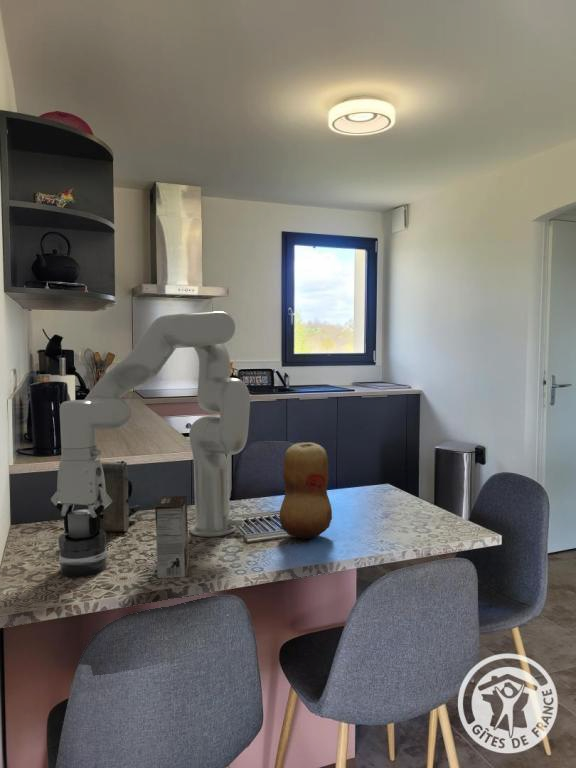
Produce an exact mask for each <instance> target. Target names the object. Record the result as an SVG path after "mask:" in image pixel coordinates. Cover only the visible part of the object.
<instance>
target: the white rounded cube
mask: <svg viewBox="0 0 576 768" xmlns="http://www.w3.org/2000/svg"><path fill="white" fill-rule="evenodd" d="M90 517H91V514H90V511H89V508H84V509H83V508H82V509H76V510H73V511H72V512H69V513H68V533H69V537H70V538H86V537H90V536H93V535H90V529H89V518H90ZM94 535H95V534H94Z"/></svg>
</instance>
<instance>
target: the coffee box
mask: <svg viewBox="0 0 576 768" xmlns="http://www.w3.org/2000/svg"><path fill="white" fill-rule="evenodd" d="M187 498H188V496H187V495H165V496H159V497H158V500H157V502H156V504H155V534H156V535H155V536H156V538H155V539H156V568H157V569H156V570H157V571H156V572H157V579H168V578H169V579H170V578H185V577H187V572H188V569H189V564H190V556H189V555H190V553H189V527H188V503H187V502H188V501H187V500H188V499H187Z"/></svg>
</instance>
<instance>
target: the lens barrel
mask: <svg viewBox="0 0 576 768" xmlns="http://www.w3.org/2000/svg"><path fill="white" fill-rule="evenodd" d="M106 537H107V535H106V532H105V531H104V530H102V529H100V531H99V532H97V533H96V534H95V535H93V536H90V537H86V538H70V537H69V533H65V532H64V533H62V534H60V535H59V537H58V548H59V554H58V558H59V563H60V564H59V565H60V567H59V568H60V574H61V576H64V577H67V578H83V577H84V578H85V577H90V576H94V575H97V574H100V573H102V572H104V570H106V569H107V556H108V554H107V553H108V550H107V543H106V541H107V539H106Z"/></svg>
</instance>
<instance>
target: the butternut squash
mask: <svg viewBox="0 0 576 768" xmlns="http://www.w3.org/2000/svg"><path fill="white" fill-rule="evenodd" d="M328 457H329V456H328V454H327V451H326V449H325V448H324V447H323V446H321V445H320V444H317V443H315V442H311V441H310V442H296V443H294V444H292V445H291V446H289V447H288V448H287V449H286V451H285V454H284V458H283V459H284V462H283V473H282V474H283V482H284V497H283V500H282V503H281V505H280V510H279V524H280V526H281V528H282V530H284V532H286V534H287V535H289V536H291V537H295V538H297V539H303V540H310V539H315V538H317V537H319V536H320V535H322V534H323V533H324V532H326V531H327V529H329V528H330V527H331V526H330V524H331V522H332V520H333V513H332V512H333V510H332V505H331V502H330V498H329V495H328V491H327V488H328V484H329V480H330V478H329V459H328Z"/></svg>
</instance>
